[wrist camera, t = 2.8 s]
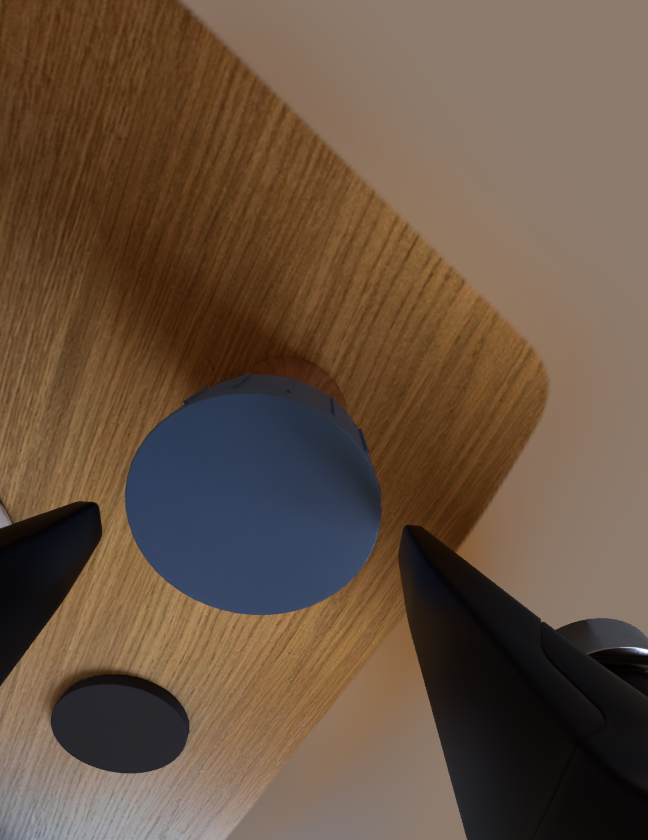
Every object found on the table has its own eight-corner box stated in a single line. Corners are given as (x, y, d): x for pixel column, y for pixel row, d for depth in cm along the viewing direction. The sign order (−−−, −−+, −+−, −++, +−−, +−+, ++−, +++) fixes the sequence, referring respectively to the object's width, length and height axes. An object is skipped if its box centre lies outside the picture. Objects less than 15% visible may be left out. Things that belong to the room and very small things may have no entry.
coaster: (187, 678, 23) (184, 688, 22) (191, 766, 25) (188, 776, 25) (47, 670, 22) (40, 680, 22) (67, 760, 25) (61, 770, 24)
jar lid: (384, 383, 10) (401, 404, 8) (357, 567, 12) (365, 623, 10) (156, 364, 10) (110, 379, 8) (168, 554, 12) (134, 608, 10)
